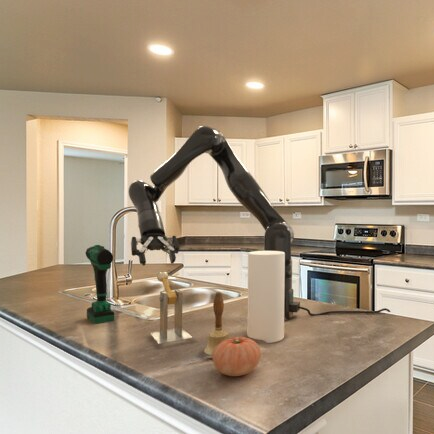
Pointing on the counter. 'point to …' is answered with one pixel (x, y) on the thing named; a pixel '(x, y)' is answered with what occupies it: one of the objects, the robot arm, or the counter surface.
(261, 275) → the tall pillar cylinder
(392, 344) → the counter surface
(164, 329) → the bracket
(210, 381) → the counter surface
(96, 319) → the power drill
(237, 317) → the counter surface
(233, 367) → the pumpkin
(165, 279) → the lever
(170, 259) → the robot arm
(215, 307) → the hand bell
